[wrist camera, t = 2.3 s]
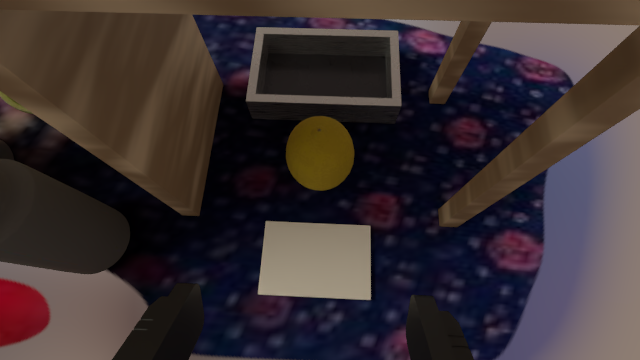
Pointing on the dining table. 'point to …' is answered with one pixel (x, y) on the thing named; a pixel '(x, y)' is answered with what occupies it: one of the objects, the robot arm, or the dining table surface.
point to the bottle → (56, 224)
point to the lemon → (319, 153)
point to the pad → (316, 260)
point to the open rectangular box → (325, 75)
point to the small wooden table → (206, 86)
